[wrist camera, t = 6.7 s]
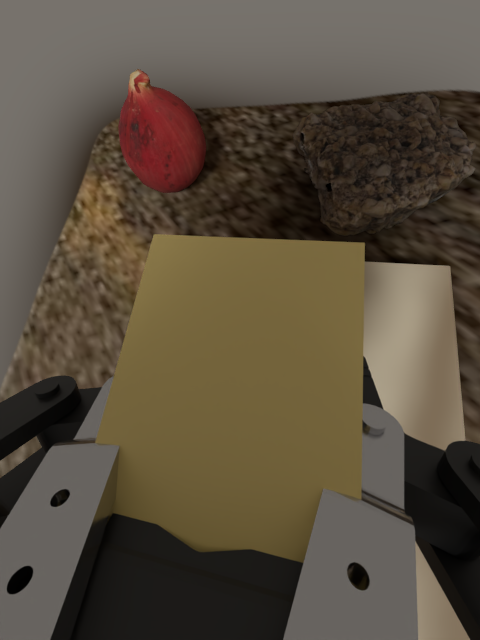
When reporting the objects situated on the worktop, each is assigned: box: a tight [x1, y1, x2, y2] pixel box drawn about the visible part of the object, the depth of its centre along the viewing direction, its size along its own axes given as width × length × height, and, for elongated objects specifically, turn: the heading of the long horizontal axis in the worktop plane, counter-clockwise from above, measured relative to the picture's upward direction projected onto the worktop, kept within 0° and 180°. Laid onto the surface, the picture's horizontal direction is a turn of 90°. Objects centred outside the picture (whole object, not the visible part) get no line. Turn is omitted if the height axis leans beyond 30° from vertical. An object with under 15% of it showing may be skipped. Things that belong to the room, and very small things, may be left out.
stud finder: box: [95, 234, 365, 589], centre depth 9 cm, size 4×6×9 cm
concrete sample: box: [293, 92, 476, 236], centre depth 17 cm, size 12×10×5 cm
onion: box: [119, 69, 206, 193], centre depth 18 cm, size 6×6×8 cm
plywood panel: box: [363, 262, 470, 640], centre depth 15 cm, size 14×18×1 cm
